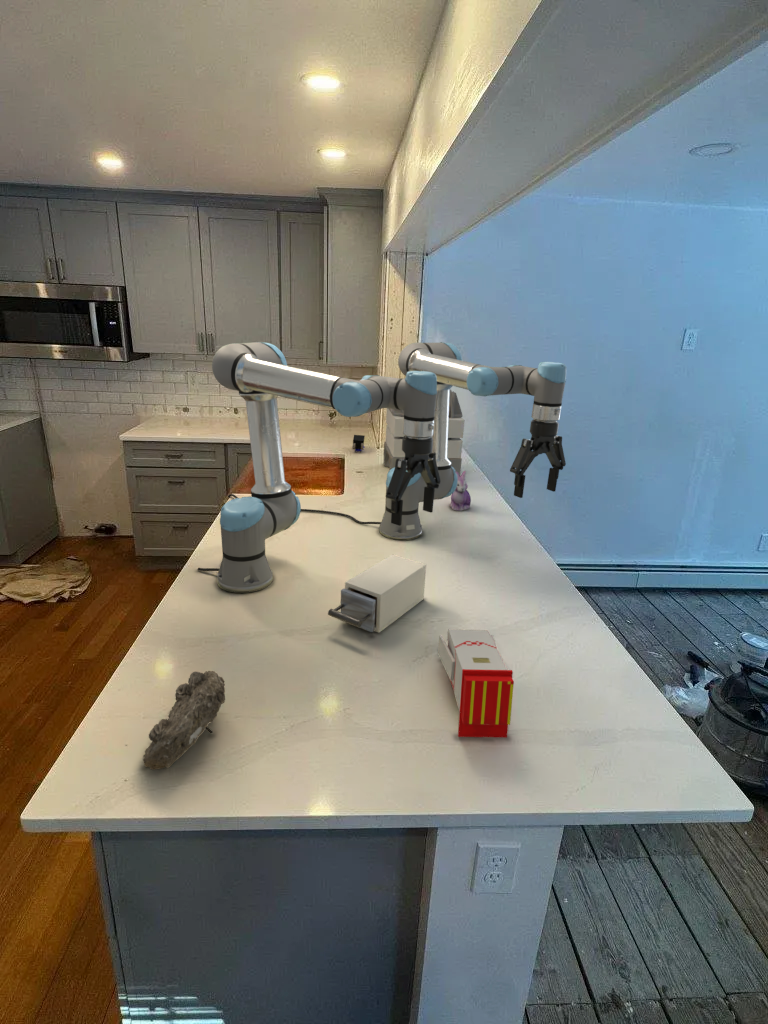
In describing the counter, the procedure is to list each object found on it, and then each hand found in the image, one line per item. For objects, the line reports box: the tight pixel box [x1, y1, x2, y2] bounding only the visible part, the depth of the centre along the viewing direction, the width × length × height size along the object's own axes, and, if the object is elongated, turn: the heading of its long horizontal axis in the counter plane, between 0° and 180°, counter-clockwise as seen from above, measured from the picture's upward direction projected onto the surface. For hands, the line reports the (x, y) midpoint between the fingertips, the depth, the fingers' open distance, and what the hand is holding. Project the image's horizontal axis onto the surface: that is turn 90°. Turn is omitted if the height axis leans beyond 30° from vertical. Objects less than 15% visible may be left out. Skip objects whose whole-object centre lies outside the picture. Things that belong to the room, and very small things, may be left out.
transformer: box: [383, 389, 465, 476], centre depth 268 cm, size 34×33×41 cm
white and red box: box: [437, 628, 515, 738], centre depth 117 cm, size 12×13×30 cm
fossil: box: [142, 670, 226, 771], centre depth 103 cm, size 22×10×15 cm
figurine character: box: [351, 434, 365, 454], centre depth 311 cm, size 7×8×15 cm
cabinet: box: [344, 553, 427, 633], centre depth 148 cm, size 22×11×10 cm, turn 146°
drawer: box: [327, 588, 377, 633], centre depth 144 cm, size 26×10×8 cm, turn 146°
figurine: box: [449, 470, 472, 511], centre depth 227 cm, size 9×10×15 cm
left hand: (412, 517), depth 146 cm, fingers open, 13 cm apart
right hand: (534, 493), depth 164 cm, fingers open, 13 cm apart
